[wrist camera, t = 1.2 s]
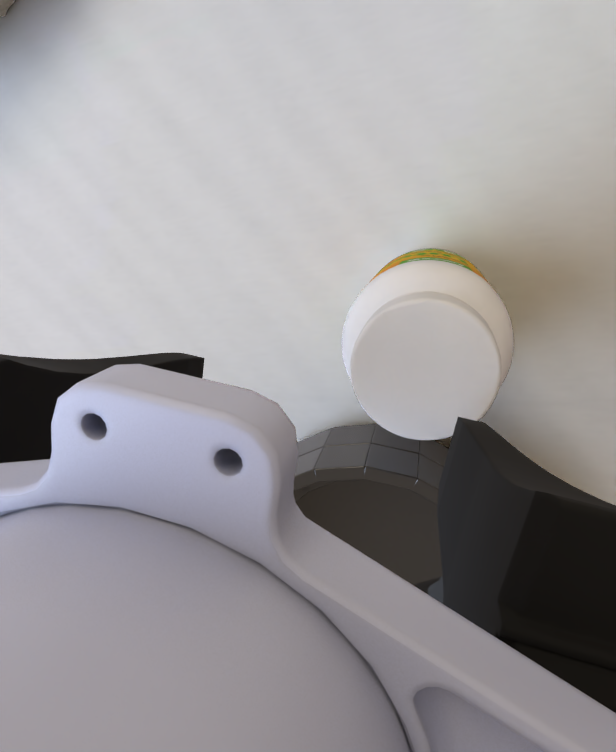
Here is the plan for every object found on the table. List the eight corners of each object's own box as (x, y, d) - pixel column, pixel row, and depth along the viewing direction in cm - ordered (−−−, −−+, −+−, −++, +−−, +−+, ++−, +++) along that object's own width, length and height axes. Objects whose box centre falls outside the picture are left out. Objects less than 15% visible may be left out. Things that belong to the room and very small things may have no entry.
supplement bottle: (474, 229, 21) (505, 240, 12) (504, 350, 22) (553, 443, 13) (351, 269, 23) (297, 304, 14) (385, 380, 24) (356, 480, 15)
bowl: (569, 559, 24) (602, 640, 20) (373, 676, 29) (362, 762, 25) (378, 365, 24) (364, 402, 19) (209, 518, 29) (166, 577, 24)
